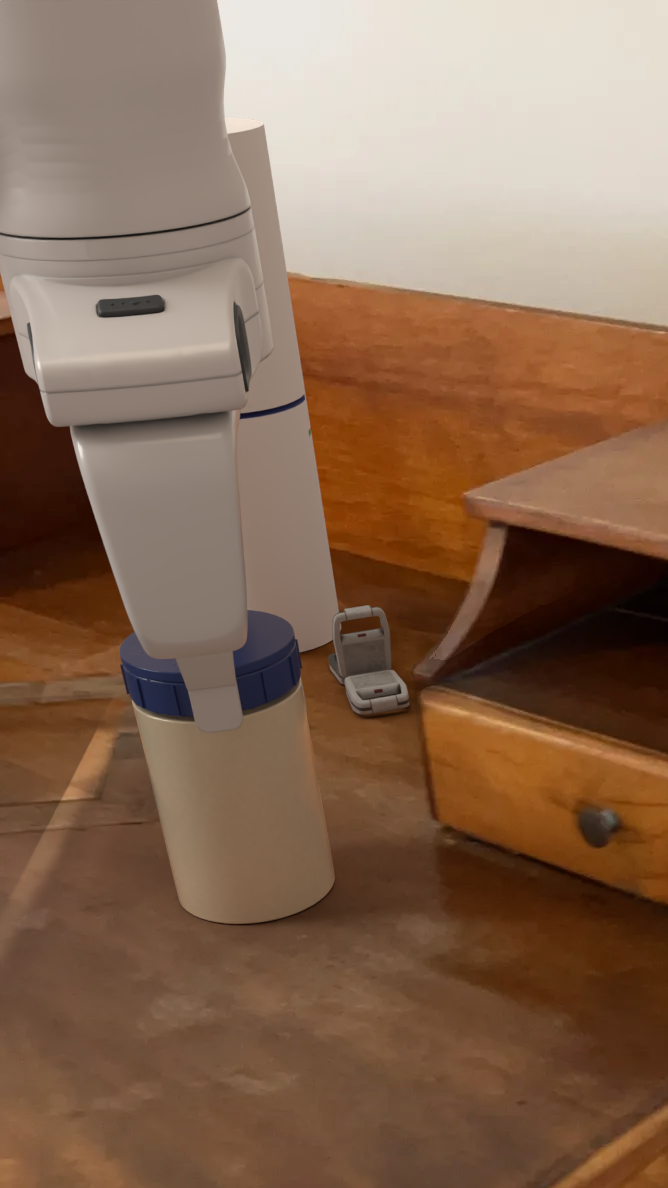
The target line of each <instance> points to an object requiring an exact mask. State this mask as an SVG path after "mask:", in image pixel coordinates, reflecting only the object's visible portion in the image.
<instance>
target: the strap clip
mask: <svg viewBox="0 0 668 1188" xmlns="http://www.w3.org/2000/svg"><path fill="white" fill-rule="evenodd" d="M371 617H379V622H380V625H381V627H378V628H373V629H366V630H359V631H354V632H348V633H342V634H341V631H340V623H341V624H342V623H343V622H346V621H351V620H358V619H364V618H371ZM332 638H333V640H332V643H333V647H334V651H335V652H333V653H330V654H329V655H328V656H327V658H328V665H329V670H330V671H331V673H332V674H333V675H334V677H335V678H336V679H337V681H338V682H339V683H340V684H341V685H344V688H345V693H346V697H347V699H348V702H349V705H350V707H351V710H352V711H353V712H354V713H356V714H358V715H362V716H368V715H375V714H382V713H387V712H392V711H398V710H402V709H405V708H408V707H409V706H410V696H409V691H408V685H407V684H406V683H405V682H404V681H403V679H402V678H401V677H400V676H399V674H398V673H397V672H396V671H395V670H394V669H392V650H391V649H392V647H391V646H392V645H391V630H390V626H389V623H388V619H387V616H386V613H385V611H384V610H383V608H381V607H380V606H372V607H371V605H370V604H368V605H361V606H355V607H349V608H343V611H339V613H337V614H335V616H334V617H333V620H332Z"/></svg>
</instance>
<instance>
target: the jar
mask: <svg viewBox="0 0 668 1188" xmlns="http://www.w3.org/2000/svg"><path fill="white" fill-rule="evenodd" d="M131 705H132V710H133V715H134V718H135V723H136V727H137V731H138V734H139V738H140V739H139V740H140V743H141V748H142V751H143V755H144V760H145V764H146V768H147V773H148V776H149V777H148V778H149V781H150V785H151V789H152V793H153V799H154V802H155V806H156V811H157V815H158V819H159V823H160V828H161V831H162V836H163V840H164V845H165V848H166V852H167V853H166V854H167V857H168V861H169V865H170V869H171V875H172V878H173V882H174V887H175V891H176V895H177V898H178V901H179V904H180V905H181V906H182V908H183V909H184V910H185V911H187V913H189V914H190V915H193V916H194V917H196V918H199V919H201V920H202V919H203V920H205V921H208V922H212V923H213V922H214V923H217V924H226V925H227V924H229V925H246V924H247V925H248V924H258V923H265V922H270V921H275V920H279V919H283V918H286V917H290V916H292V915H295V914H298V913H300V912H302V911H305V910H307V909H308V908H310V907H312V906H314V905H316V904H317V903H318V902H320V901H321V900H322V899H324V898H325V897H326V896H327V895H328V894H329V893H330V891H331V889H333V886H334V883H335V880H336V873H335V866H334V861H333V855H332V849H331V843H330V838H329V837H330V836H329V832H328V825H327V820H326V815H325V814H326V813H325V809H324V808H325V807H324V803H323V797H322V796H323V795H322V791H321V784H320V779H319V773H318V768H317V761H316V755H315V749H314V745H313V739H312V738H313V737H312V732H311V727H310V721H309V715H308V709H307V708H308V707H307V703H306V697H305V691H304V685H303V680H302V676H300V679H299V681H298V683H297V685H296V686H295V687H294V688H293V689H291V690H290V691H289V692H288V693H286V694H285V695H283V696H282V697H280V698H278V699H276V700H273V701H271V702H269V703H266V704H263V705H261V706H258V707H256V708H252V709H248V710H243V711H242V713H243V722H242V725H241V726H240V727H239V728H237V729H235V730H229V731H221V732H213V733H206V732H203V731H201V730H200V729H199V728H198V727H197V725H196V723H195V719H194V717H180V716H170V715H164V714H157V713H154V712H151V711H148V710H145V709H143V708H141V707H139V706H137V705H136V704H135V703H134V701H133V700H132V699H131Z"/></svg>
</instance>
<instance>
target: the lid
mask: <svg viewBox="0 0 668 1188" xmlns="http://www.w3.org/2000/svg"><path fill="white" fill-rule="evenodd" d="M247 613H248V631H247V640H246V643H245V644H244V646H243V647H242V648H240V649H238V650H235V651H233V657H234V666H235V674H236V679H237V684H238V689H239V694H240V699H241V705H242V711H243V710H248V709H252V708H256V707H258V706H261V705H263V704H266V703H269V702H271V701H273V700H276V699H278V698H280V697H282V696H283V695H285V694H286V693H288V692H289V691H290V690H291V689H293V688H294V687H295V686H296V685H297V683H298V681H299V679H300V676H301V675H302V670H301V669H303V665H302V658H301V652H299V646H298V641H297V639H295V634H294V629H293V627H292V626H291V624H290V623H289V622H288V621H286V620H285V619H283V618H281V617H279V616H276V615H273V614H270V613H266V612H261V611H253V610H247ZM118 650H119V653H118V654H119V658H120V661H121V664H120V665H119V667H120V670H121V675H122V679H123V683H124V687H125V691H126V695H129V697H130V700H131V701H132V700H133V701H134V703H135V704H136V705H137V706H139V707H141V708H143V709H145V710H148V711H151V712H154V713H157V714H164V715H170V716H180V717H194V715H193V710H192V706H191V701H190V697H189V693H188V690H187V687H186V685H185V682H184V679H183V677H182V674H181V672H180V669H179V667H178V664H177V662H176V659H175V658H173V659H154V658H152V657H150V656H149V655H148V654H147V653H146V652H145V650H144V649H143V647H142V645H141V643H140V642H139V640H138V638H137V636H136V634H135V631H133V632H132V633H130V635H128V636H127V637H126V638H125V639H123V641H122V642H121V643H120V647H119V649H118ZM301 677H302V676H301Z"/></svg>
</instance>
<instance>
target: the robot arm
mask: <svg viewBox="0 0 668 1188" xmlns="http://www.w3.org/2000/svg"><path fill="white" fill-rule="evenodd" d="M218 3H219V2H218V0H0V277H1V282H2V285H3V290H4V293H5V297H6V298H5V299H6V302H7V306H8V309H9V313H10V317H11V322H12V325H13V331H14V334H15V337H16V341H17V345H18V349H19V353H20V358H21V361H22V365H23V369H24V372H25V374H26V375H27V376H28V377H29V378H30V379H32V380H33V381H34V382H35V383H36V384H37V385H38V386H37V387H38V390H39V394H40V397H41V401H42V406H43V409H44V413H45V416H46V418H47V420H48V422H49V423H50V425H52V426H53V427H56V428H64V427H69V431H70V436H71V440H72V445H73V448H74V453H75V456H76V460H77V464H78V467H79V471H80V475H81V477H82V481H83V483H84V488H85V490H86V495H87V497H88V500H89V503H90V506H91V509H92V513H93V515H94V519H95V522H96V525H97V528H98V532H99V534H100V537H101V540H102V544H103V547H104V550H105V553H106V556H107V558H108V559H107V560H108V562H109V564H110V567H111V571H112V574H113V577H114V580H115V583H116V586H117V588H118V591H119V594H120V597H121V601H122V603H123V607H124V609H125V612H126V615H127V617H128V619H129V622H130V624H131V627H132V629H133V632H135V634H136V636H137V638H138V640H139V642H140V643H141V645H142V647H143V649H144V650H145V652H146V653H147V654H148V655H149V656H150V657H152V658H154V659H173V658H175V659H176V662H177V664H178V667H179V669H180V672H181V674H182V677H183V679H184V682H185V685H186V687H187V690H188V693H189V697H190V701H191V706H192V710H193V715H194V719H195V723H196V725H197V727H198V728H199V729H200V730H201V731H203V732H206V733H213V732H221V731H229V730H235V729H237V728H239V727H240V726H241V725H242V722H243V713H242V705H241V699H240V694H239V689H238V684H237V679H236V674H235V666H234V657H233V651H235V650H238V649H240V648H242V647H243V646H244V644H245V643H246V640H247V631H248V613H247V592H246V576H245V563H244V549H243V536H242V523H241V510H240V497H239V483H238V466H237V433H238V426H239V420H240V412H241V409H243V408H244V407H245V406H246V404H247V402H248V394H247V392H248V391H249V382H250V380H251V378H252V377H253V375H254V373H255V371H256V370H257V368H258V365H259V363H260V362H262V361H263V360H264V359H266V358H267V357H268V356H269V355H270V354H271V353H272V351H273V348H274V342H273V336H272V330H271V324H270V318H269V312H268V306H267V300H266V294H265V288H264V282H263V275H262V269H261V263H260V257H259V251H258V245H257V239H256V232H255V226H254V222H253V216H252V210H251V203H250V198H249V194H248V190H247V187H246V184H245V182H244V179H243V176H242V174H241V172H240V169H239V167H238V165H237V162H236V160H235V158H234V155H233V153H232V149H231V146H230V142H229V139H228V135H227V129H226V123H225V118H226V117H225V116H226V115H225V102H224V101H225V100H224V99H225V83H226V71H227V55H226V54H227V53H226V47H225V46H226V45H225V40H224V34H223V28H222V21H221V15H220V10H219V4H218Z"/></svg>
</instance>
